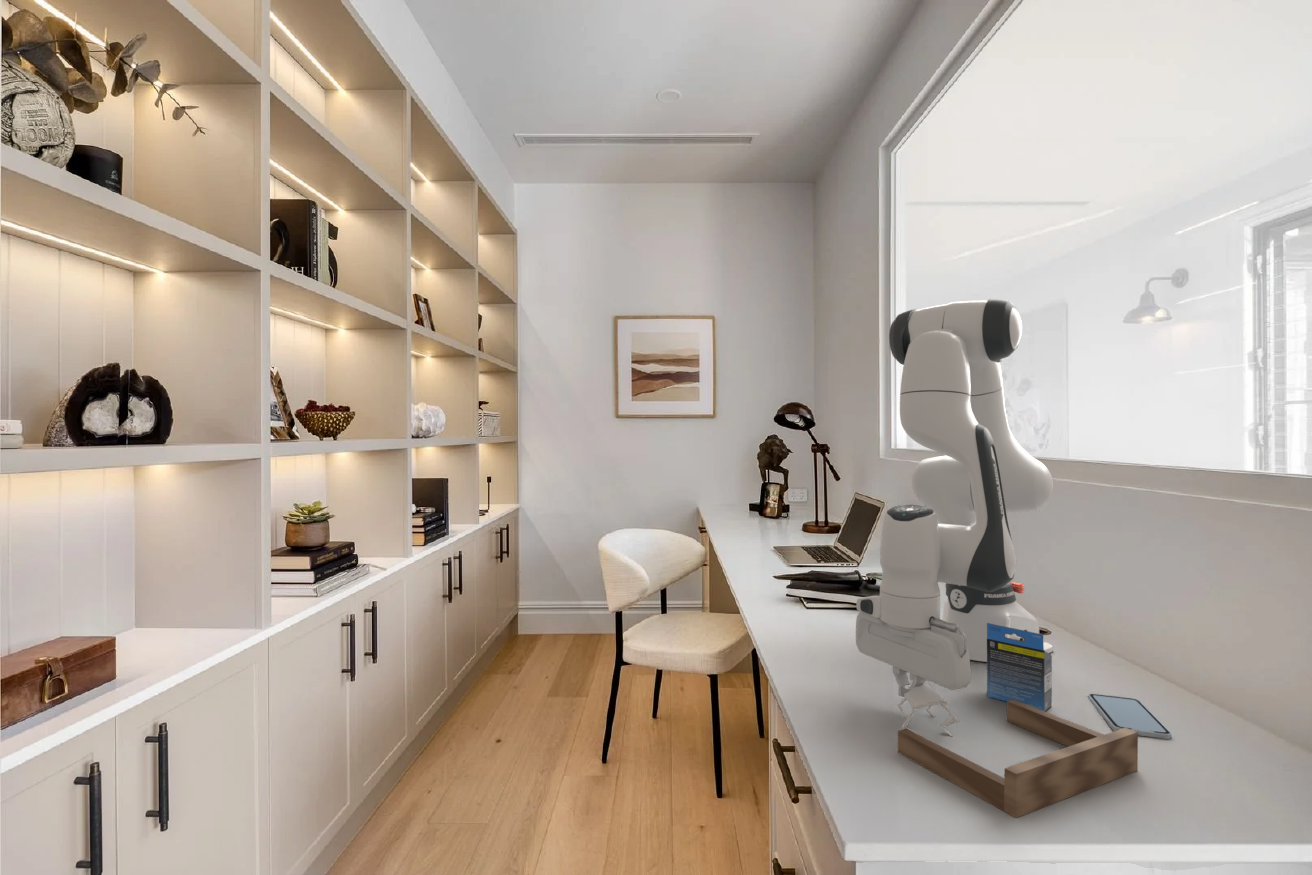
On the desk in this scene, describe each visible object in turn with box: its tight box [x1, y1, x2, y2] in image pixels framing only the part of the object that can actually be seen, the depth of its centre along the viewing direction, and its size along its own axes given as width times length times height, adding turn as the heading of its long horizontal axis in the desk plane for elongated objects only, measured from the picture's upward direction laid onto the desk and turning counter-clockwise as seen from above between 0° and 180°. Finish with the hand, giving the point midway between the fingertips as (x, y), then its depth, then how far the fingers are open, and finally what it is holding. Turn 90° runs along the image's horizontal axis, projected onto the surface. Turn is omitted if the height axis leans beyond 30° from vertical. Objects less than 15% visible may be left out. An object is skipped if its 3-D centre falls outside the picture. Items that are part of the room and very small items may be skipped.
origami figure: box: [896, 683, 961, 737], centre depth 101 cm, size 12×8×5 cm
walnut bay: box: [897, 700, 1139, 819], centre depth 90 cm, size 24×18×5 cm
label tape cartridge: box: [986, 623, 1053, 712], centre depth 110 cm, size 9×4×12 cm, turn 42°
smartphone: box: [1087, 693, 1173, 740], centre depth 104 cm, size 7×1×15 cm
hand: (909, 698), depth 106 cm, fingers closed
